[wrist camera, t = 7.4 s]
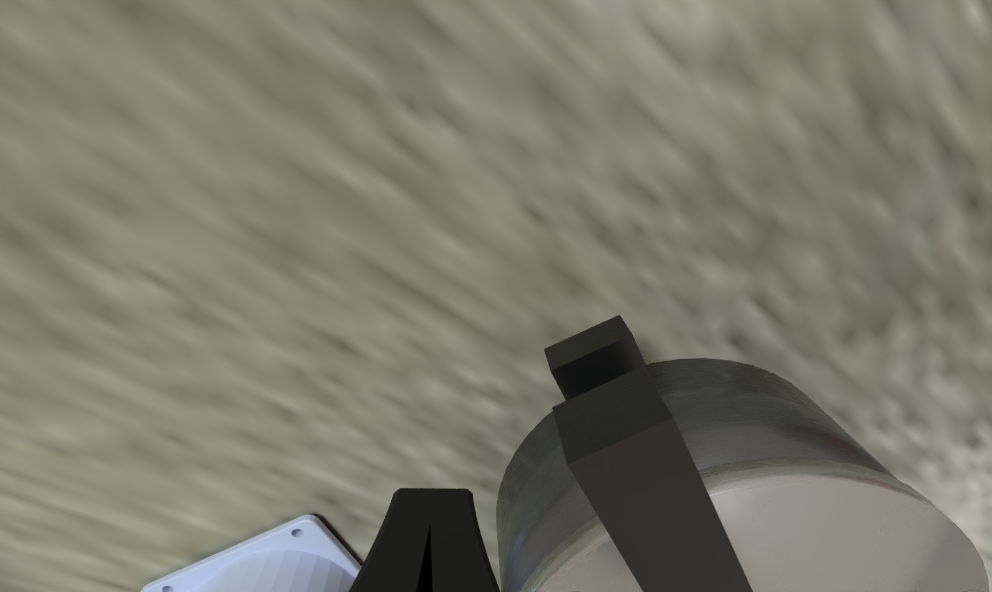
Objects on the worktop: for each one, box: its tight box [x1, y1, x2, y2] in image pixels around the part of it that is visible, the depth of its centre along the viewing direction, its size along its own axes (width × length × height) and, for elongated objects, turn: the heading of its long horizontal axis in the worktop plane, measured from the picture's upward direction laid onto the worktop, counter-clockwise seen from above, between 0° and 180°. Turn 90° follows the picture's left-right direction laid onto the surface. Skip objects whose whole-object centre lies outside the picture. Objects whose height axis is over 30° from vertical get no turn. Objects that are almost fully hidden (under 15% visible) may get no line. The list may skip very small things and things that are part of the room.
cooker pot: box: [496, 315, 896, 592], centre depth 20 cm, size 16×21×6 cm
